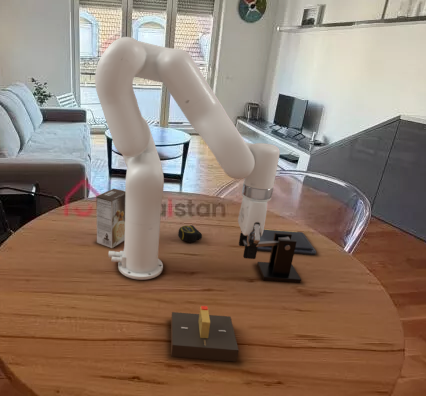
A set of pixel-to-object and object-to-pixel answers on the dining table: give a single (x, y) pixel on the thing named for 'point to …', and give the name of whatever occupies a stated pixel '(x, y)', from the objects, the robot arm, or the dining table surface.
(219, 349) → the plate
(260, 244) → the door handle
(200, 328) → the thumbturn
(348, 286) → the dining table surface
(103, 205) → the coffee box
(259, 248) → the dark grey flat tray
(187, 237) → the tape measure
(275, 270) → the handle bracket
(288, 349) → the dining table surface
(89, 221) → the dining table surface
